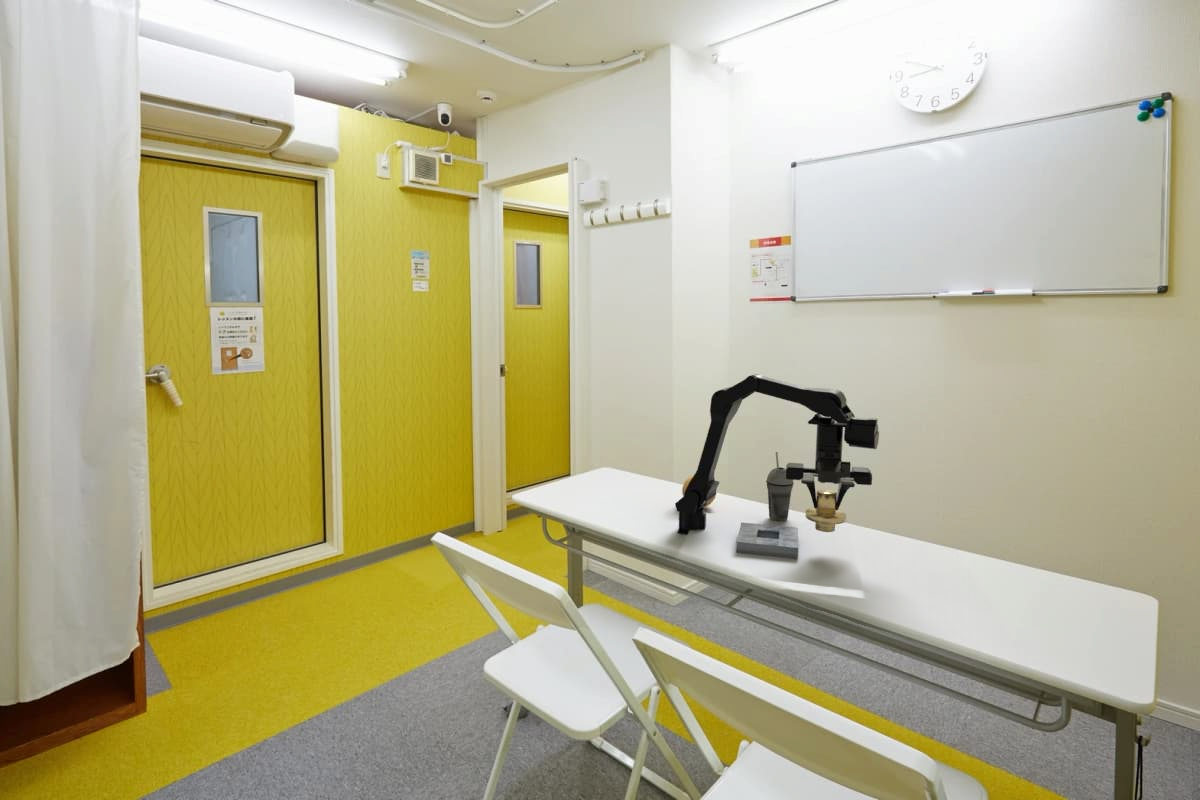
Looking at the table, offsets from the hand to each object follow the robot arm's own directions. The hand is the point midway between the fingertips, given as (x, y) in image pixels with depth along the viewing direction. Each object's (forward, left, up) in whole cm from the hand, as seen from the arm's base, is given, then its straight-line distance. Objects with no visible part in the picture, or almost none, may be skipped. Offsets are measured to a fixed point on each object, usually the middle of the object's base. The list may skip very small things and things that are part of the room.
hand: (825, 508), depth 151 cm
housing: (-13, +1, -12) cm, 18 cm away
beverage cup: (-11, +22, -12) cm, 27 cm away
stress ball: (-34, +29, -12) cm, 46 cm away
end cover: (0, 0, -5) cm, 5 cm away
